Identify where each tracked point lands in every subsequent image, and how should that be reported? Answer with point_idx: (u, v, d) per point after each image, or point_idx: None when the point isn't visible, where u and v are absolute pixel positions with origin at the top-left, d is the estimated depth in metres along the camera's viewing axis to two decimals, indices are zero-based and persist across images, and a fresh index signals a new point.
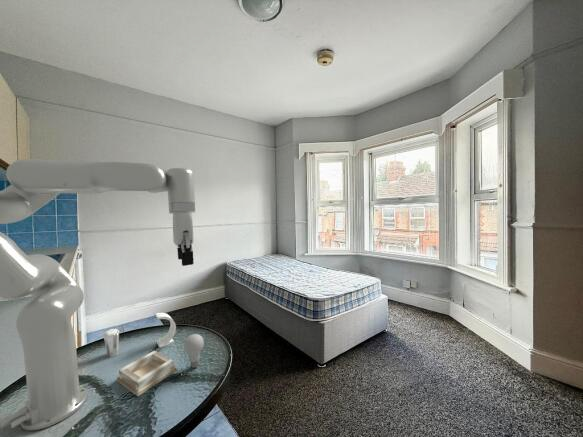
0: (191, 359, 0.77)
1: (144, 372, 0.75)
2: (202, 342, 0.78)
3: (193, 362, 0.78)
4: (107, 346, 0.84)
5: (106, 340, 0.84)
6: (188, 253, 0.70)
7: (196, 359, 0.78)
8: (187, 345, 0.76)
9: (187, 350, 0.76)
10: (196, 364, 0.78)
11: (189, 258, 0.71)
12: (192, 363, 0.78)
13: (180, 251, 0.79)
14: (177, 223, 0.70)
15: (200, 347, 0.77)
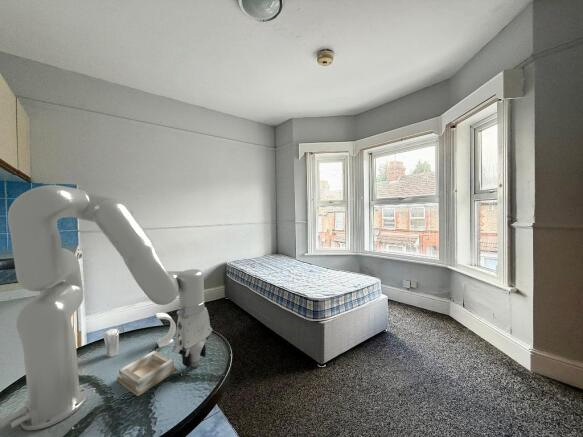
0: (191, 359, 0.77)
1: (144, 372, 0.75)
2: (202, 342, 0.79)
3: (193, 361, 0.78)
4: (107, 346, 0.84)
5: (106, 340, 0.84)
6: None
7: (196, 359, 0.78)
8: None
9: None
10: (196, 364, 0.78)
11: None
12: (192, 363, 0.78)
13: None
14: (208, 316, 0.81)
15: (200, 347, 0.77)
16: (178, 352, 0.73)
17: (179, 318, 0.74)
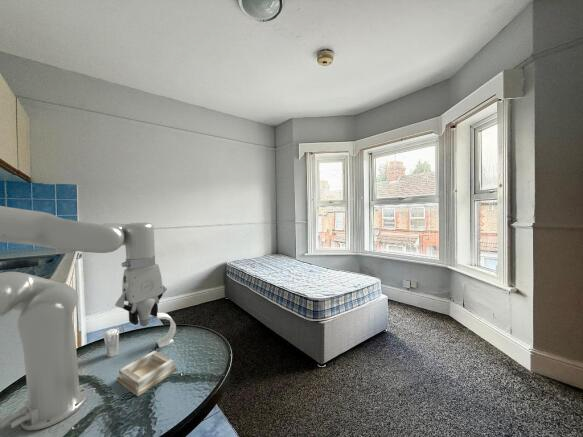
0: (139, 316, 0.73)
1: (144, 372, 0.75)
2: (152, 299, 0.74)
3: (142, 320, 0.73)
4: (107, 346, 0.84)
5: (106, 340, 0.84)
6: None
7: (145, 317, 0.73)
8: None
9: None
10: (145, 322, 0.73)
11: None
12: (141, 321, 0.73)
13: None
14: (160, 273, 0.76)
15: (149, 304, 0.73)
16: (122, 307, 0.68)
17: (124, 271, 0.70)
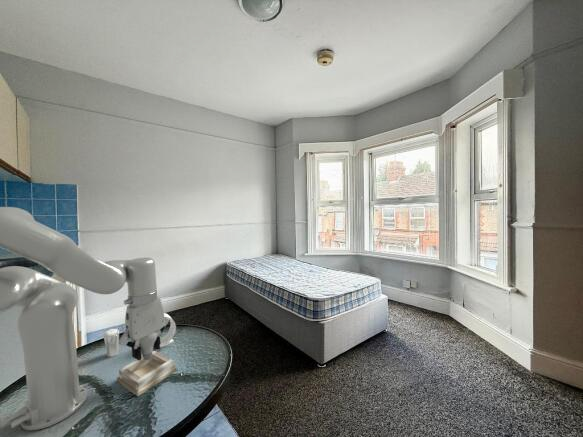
0: (142, 351, 0.73)
1: (144, 372, 0.75)
2: (155, 333, 0.75)
3: (145, 354, 0.74)
4: (107, 346, 0.84)
5: (106, 340, 0.84)
6: None
7: (148, 351, 0.74)
8: None
9: None
10: (148, 356, 0.74)
11: None
12: (144, 355, 0.74)
13: None
14: (162, 306, 0.77)
15: (152, 338, 0.74)
16: (125, 344, 0.69)
17: (127, 308, 0.70)
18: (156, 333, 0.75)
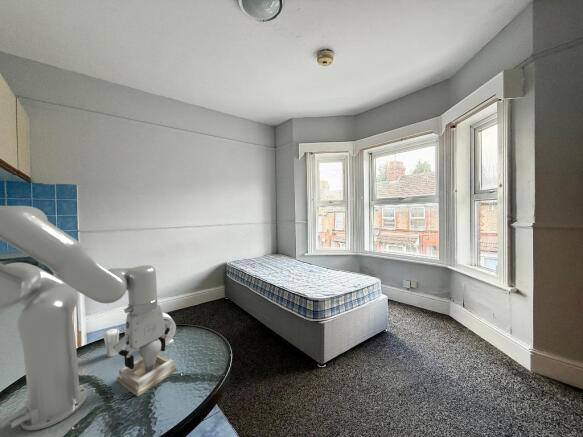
0: (145, 363, 0.74)
1: (144, 372, 0.75)
2: (158, 347, 0.75)
3: (147, 366, 0.74)
4: (107, 346, 0.84)
5: (106, 340, 0.84)
6: None
7: (150, 364, 0.74)
8: (141, 348, 0.72)
9: (141, 354, 0.72)
10: (150, 369, 0.75)
11: None
12: (146, 367, 0.74)
13: None
14: (162, 314, 0.77)
15: (155, 352, 0.74)
16: (118, 351, 0.68)
17: (127, 317, 0.71)
18: (159, 347, 0.75)
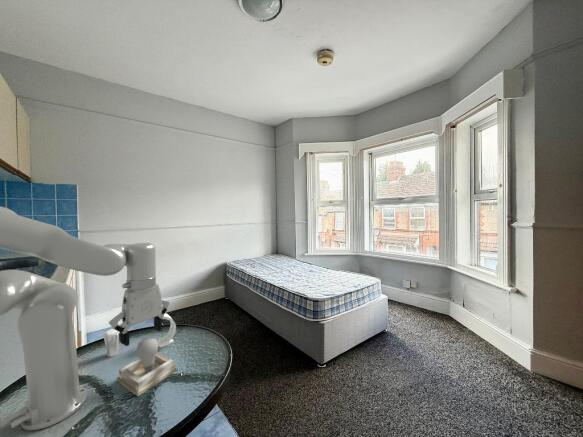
0: (143, 364, 0.74)
1: (144, 372, 0.75)
2: (155, 346, 0.75)
3: (146, 366, 0.74)
4: (107, 346, 0.84)
5: (106, 340, 0.84)
6: None
7: (149, 364, 0.74)
8: (138, 349, 0.72)
9: (138, 354, 0.72)
10: (150, 369, 0.75)
11: None
12: (145, 368, 0.74)
13: None
14: (160, 293, 0.76)
15: (152, 352, 0.73)
16: (114, 326, 0.67)
17: (125, 292, 0.70)
18: (156, 346, 0.75)
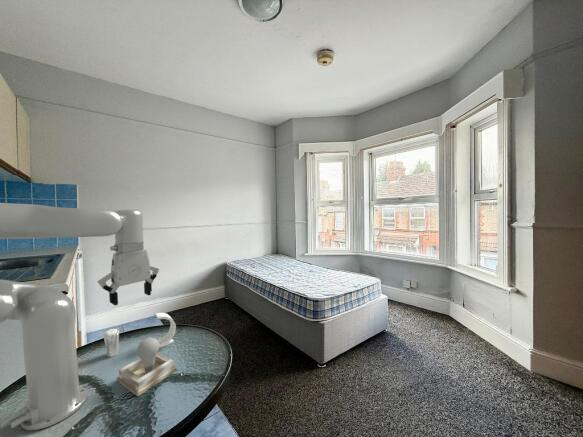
0: (144, 364, 0.74)
1: (144, 372, 0.75)
2: (156, 347, 0.74)
3: (146, 367, 0.74)
4: (107, 346, 0.84)
5: (106, 340, 0.84)
6: None
7: (149, 364, 0.74)
8: (139, 349, 0.72)
9: (139, 355, 0.72)
10: (150, 369, 0.75)
11: None
12: (145, 368, 0.74)
13: None
14: (148, 258, 0.79)
15: (153, 352, 0.73)
16: (103, 285, 0.70)
17: (113, 255, 0.73)
18: (157, 347, 0.75)
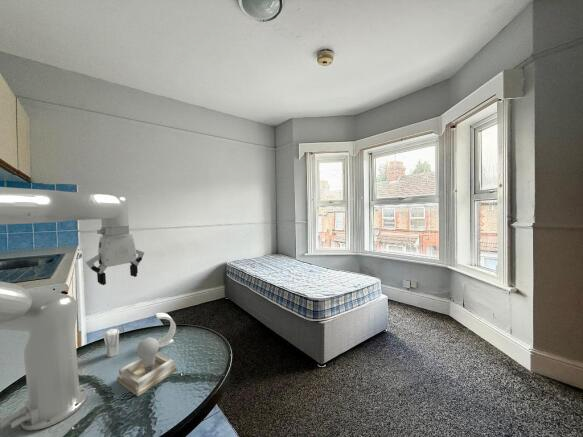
0: (144, 364, 0.74)
1: (144, 372, 0.75)
2: (156, 346, 0.75)
3: (146, 367, 0.74)
4: (107, 346, 0.84)
5: (106, 340, 0.84)
6: None
7: (149, 364, 0.74)
8: (139, 349, 0.72)
9: (138, 354, 0.72)
10: (150, 369, 0.75)
11: None
12: (145, 368, 0.74)
13: None
14: None
15: (153, 352, 0.73)
16: (91, 266, 0.75)
17: (100, 238, 0.78)
18: (157, 346, 0.75)
